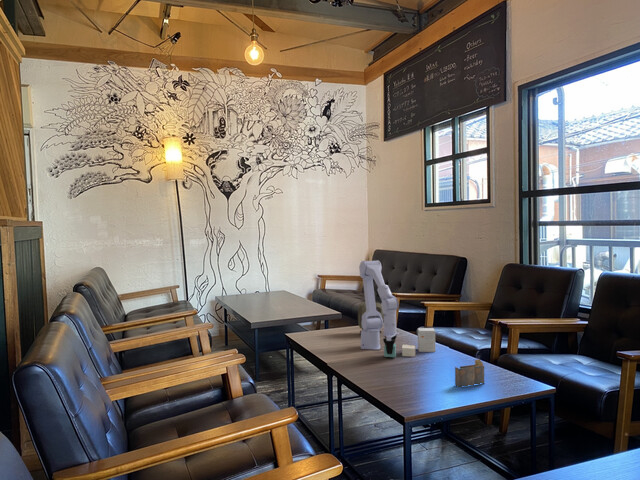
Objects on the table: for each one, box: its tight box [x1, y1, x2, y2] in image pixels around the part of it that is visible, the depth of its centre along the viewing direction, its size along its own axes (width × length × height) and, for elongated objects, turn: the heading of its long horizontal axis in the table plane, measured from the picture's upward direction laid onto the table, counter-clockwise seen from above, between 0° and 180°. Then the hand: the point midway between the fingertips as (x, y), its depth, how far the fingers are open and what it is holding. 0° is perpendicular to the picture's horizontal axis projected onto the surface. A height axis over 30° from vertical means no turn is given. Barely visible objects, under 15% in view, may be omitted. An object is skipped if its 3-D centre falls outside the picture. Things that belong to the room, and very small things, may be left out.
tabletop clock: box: [357, 291, 384, 334], centre depth 257 cm, size 14×9×25 cm, turn 85°
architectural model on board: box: [454, 358, 485, 388], centre depth 175 cm, size 11×3×10 cm, turn 108°
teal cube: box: [383, 343, 397, 358], centre depth 213 cm, size 5×5×5 cm
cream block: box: [401, 344, 416, 357], centre depth 217 cm, size 6×6×4 cm
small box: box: [417, 327, 437, 353], centre depth 224 cm, size 8×6×10 cm
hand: (390, 352), depth 213 cm, fingers closed on teal cube, 5 cm apart
